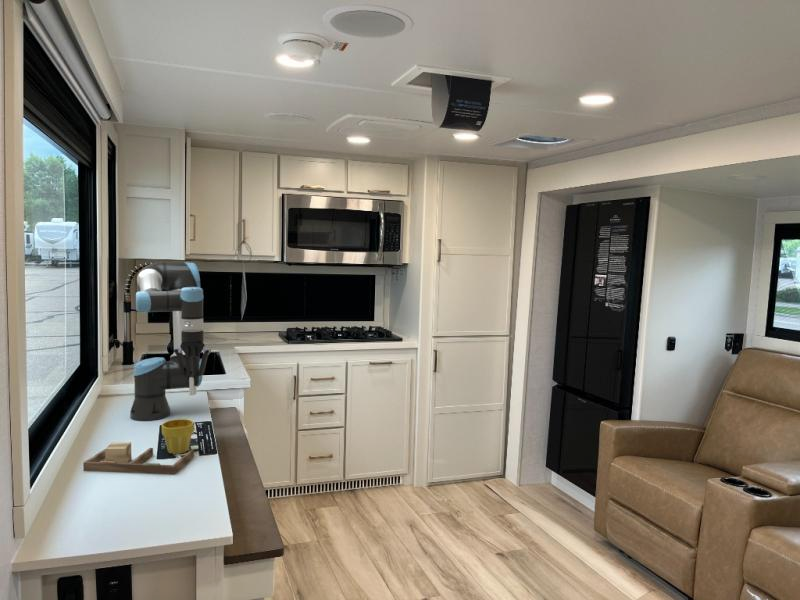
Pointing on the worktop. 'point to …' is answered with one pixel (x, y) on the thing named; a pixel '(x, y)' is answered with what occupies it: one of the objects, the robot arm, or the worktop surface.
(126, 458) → the oak block
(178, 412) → the worktop surface
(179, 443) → the plant pot
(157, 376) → the robot arm
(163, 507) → the worktop surface
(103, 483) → the worktop surface
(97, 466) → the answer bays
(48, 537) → the worktop surface
